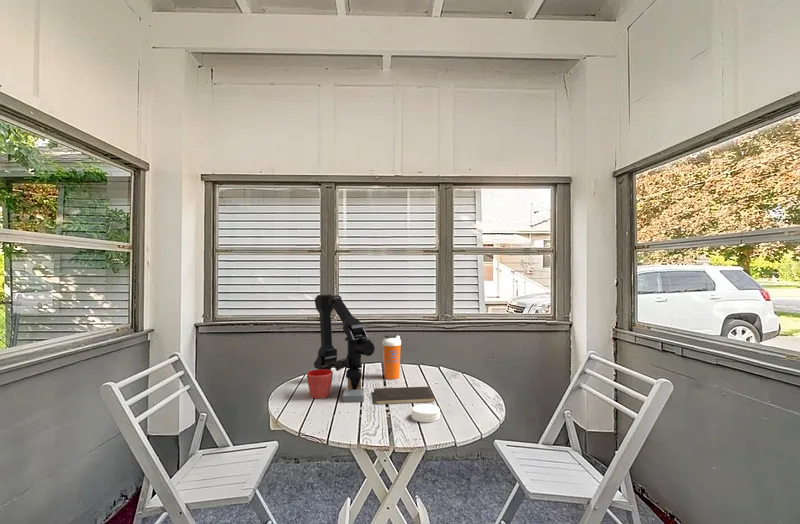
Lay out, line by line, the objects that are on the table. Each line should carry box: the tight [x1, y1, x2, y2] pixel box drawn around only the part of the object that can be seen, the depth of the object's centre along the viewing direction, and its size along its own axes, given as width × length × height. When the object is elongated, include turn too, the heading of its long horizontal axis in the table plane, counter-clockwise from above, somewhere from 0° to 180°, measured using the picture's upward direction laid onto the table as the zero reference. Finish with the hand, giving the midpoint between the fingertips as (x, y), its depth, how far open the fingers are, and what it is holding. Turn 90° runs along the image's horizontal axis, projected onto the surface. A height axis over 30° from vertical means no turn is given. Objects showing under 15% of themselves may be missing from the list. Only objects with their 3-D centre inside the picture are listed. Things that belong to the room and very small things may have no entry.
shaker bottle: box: [381, 333, 402, 380], centre depth 212 cm, size 9×9×20 cm
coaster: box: [411, 403, 441, 423], centre depth 159 cm, size 10×10×4 cm
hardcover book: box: [373, 386, 436, 405], centre depth 182 cm, size 16×23×2 cm
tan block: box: [347, 378, 362, 390], centre depth 190 cm, size 6×6×6 cm
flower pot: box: [306, 369, 334, 400], centre depth 184 cm, size 11×11×10 cm
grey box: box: [342, 389, 365, 403], centre depth 180 cm, size 8×8×2 cm
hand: (354, 389), depth 190 cm, fingers closed on tan block, 5 cm apart
